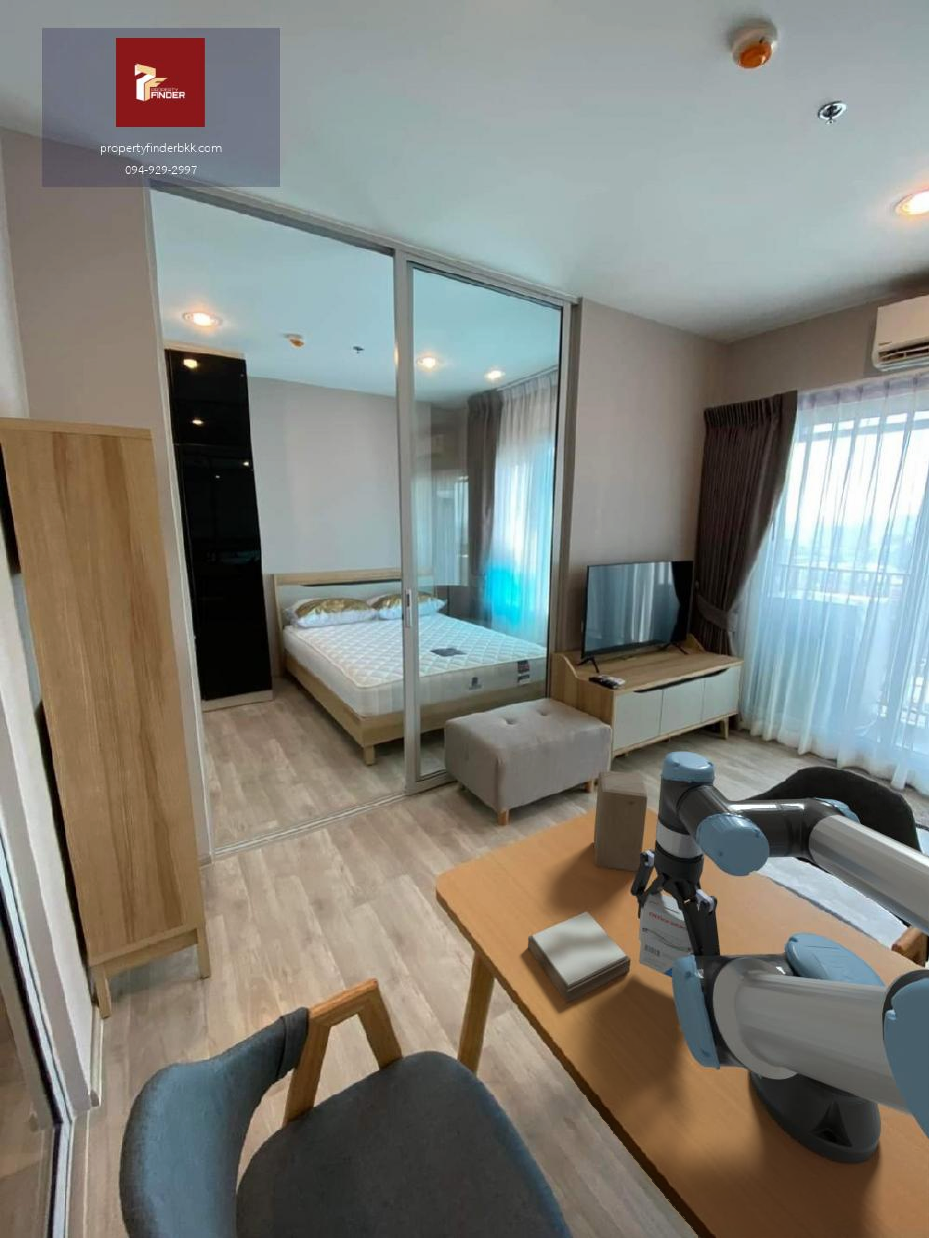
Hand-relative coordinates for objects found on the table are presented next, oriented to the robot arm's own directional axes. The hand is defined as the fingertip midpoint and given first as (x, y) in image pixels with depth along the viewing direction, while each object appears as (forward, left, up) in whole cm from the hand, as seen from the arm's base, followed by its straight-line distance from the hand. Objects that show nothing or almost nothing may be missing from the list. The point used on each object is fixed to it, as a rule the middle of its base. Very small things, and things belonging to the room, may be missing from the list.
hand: (667, 959), depth 86 cm
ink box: (0, 0, -1) cm, 1 cm away
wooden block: (+29, -15, -5) cm, 33 cm away
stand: (+11, +11, -5) cm, 16 cm away
